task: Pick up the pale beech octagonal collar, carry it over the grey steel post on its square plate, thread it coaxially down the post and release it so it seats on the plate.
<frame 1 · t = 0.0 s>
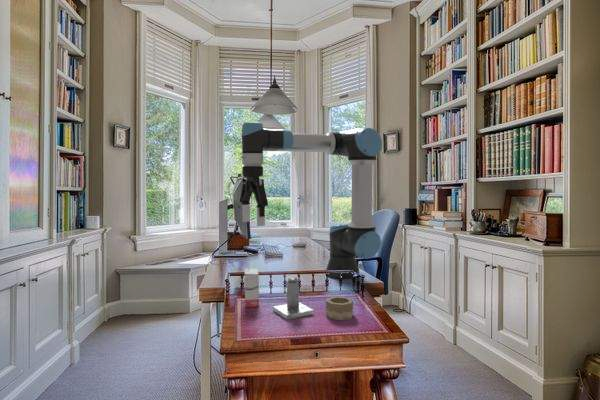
hand: (253, 223, 157), 28 cm above the table, fingers open, 13 cm apart
post: (293, 312, 144), on the table
ink box: (252, 304, 154), on the table
collar: (339, 315, 141), on the table
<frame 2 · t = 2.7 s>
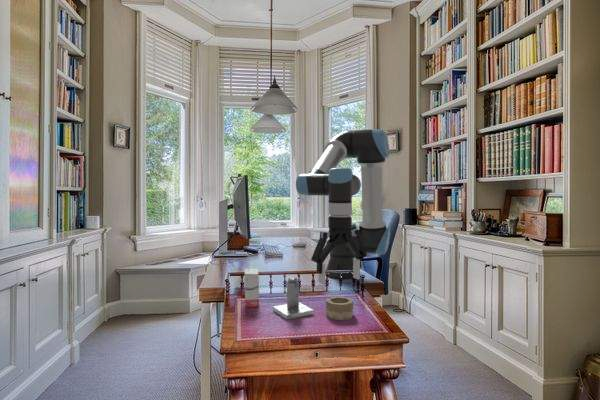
hand: (339, 280, 140), 12 cm above the table, fingers open, 13 cm apart
nothing on the table moved.
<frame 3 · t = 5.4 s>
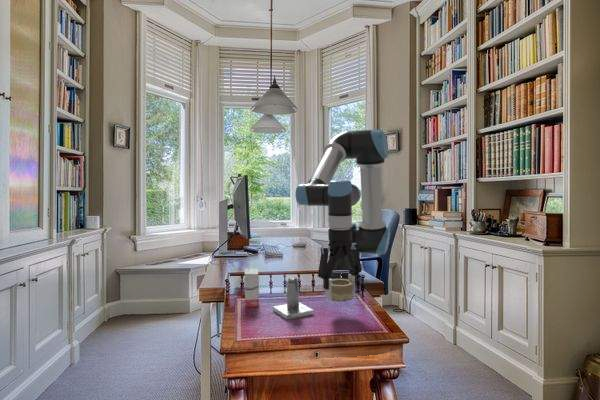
hand: (340, 296, 141), 6 cm above the table, fingers closed on collar, 8 cm apart
collar: (340, 297, 141), point 6 cm above the table, touching gripper
everything else where it was.
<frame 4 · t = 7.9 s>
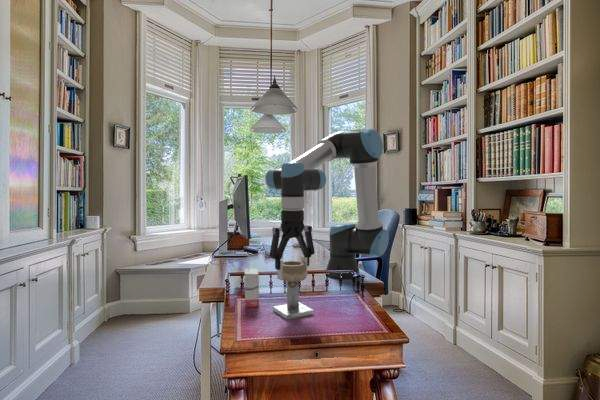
hand: (292, 277, 142), 12 cm above the table, fingers closed on collar, 8 cm apart
collar: (292, 278, 142), point 12 cm above the table, touching gripper
everything else where it was.
when the fingers open (2 cm above the table, at t = 10.9 s): collar stays where it is, resting on post.
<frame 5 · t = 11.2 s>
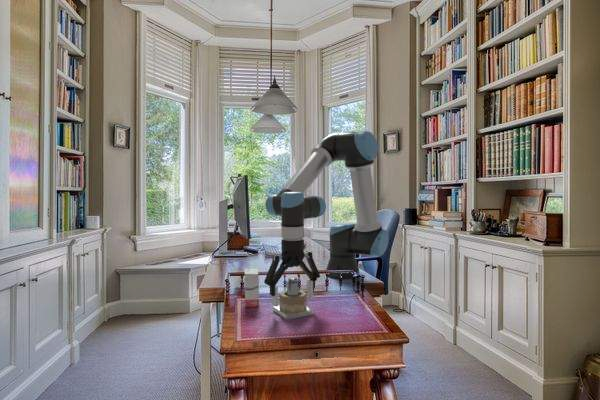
hand: (292, 302, 143), 4 cm above the table, fingers open, 13 cm apart
collar: (293, 308, 143), point 1 cm above the table, touching post
everything else where it was.
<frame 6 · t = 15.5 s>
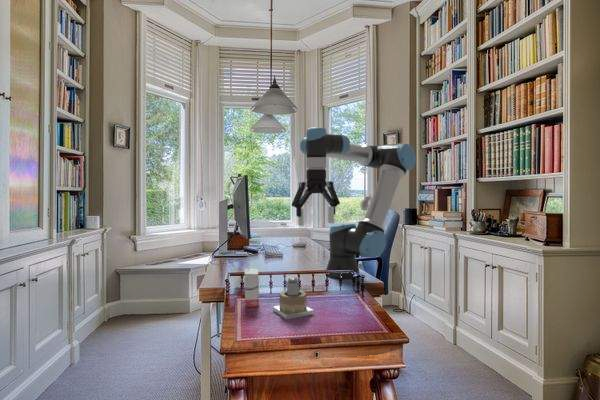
hand: (316, 224, 165), 27 cm above the table, fingers open, 13 cm apart
nothing on the table moved.
at the end: collar 0.0 cm off-centre on the post, point 1.5 cm above the post's base; the gripper is holding nothing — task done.
